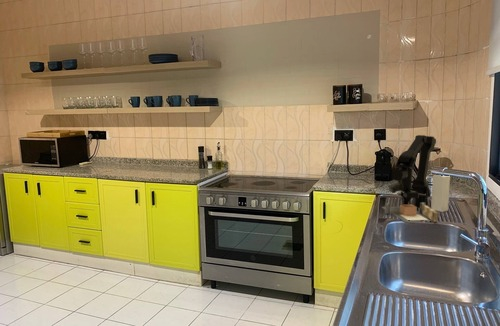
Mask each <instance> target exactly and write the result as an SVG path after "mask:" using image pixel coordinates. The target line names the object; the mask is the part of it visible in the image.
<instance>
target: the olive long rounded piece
mask: <svg viewBox="0 0 500 326" xmlns="http://www.w3.org/2000/svg"><path fill="white" fill-rule="evenodd" d="M422 205H425V202H420V207H419V212H420V214H422ZM385 207H386V210H384V211H385V213H384V214H385V215H387V216H389V215H390V214H391V213H390V207H391V203H390V202H386V203H385Z"/></svg>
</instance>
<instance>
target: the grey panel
mask: <svg viewBox="0 0 500 326" xmlns="http://www.w3.org/2000/svg"><path fill="white" fill-rule="evenodd" d="M381 208H382V210H383V209H384V211H386V206H381ZM389 214H391V215H393V216H395V217H396V218H397V219H399V220H400V219H401V220H400V221H402V222H403V223H405V224H406V223H409V224H410V223H421V222H420V220H426V221H431V222H430V223H435V222H434V221H432V220H431V219H429V218H428V217H426V216H425V215H423V214H420V210H416V216H404V215H403V214H401V213H400V206H390V213H389ZM408 220H410V221H408Z"/></svg>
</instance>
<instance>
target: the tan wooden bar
mask: <svg viewBox="0 0 500 326" xmlns="http://www.w3.org/2000/svg"><path fill="white" fill-rule="evenodd" d="M428 206H429V205H428V204H427V205H422V214H423V215H425V216H426V217H428V218H429V219H431V220H432V221H434V222H433V223H438V222H437V221H438V218H439V213H438V212H439V211H436V210H433V209H431V206H429V207H428Z"/></svg>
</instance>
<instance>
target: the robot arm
mask: <svg viewBox="0 0 500 326" xmlns="http://www.w3.org/2000/svg"><path fill="white" fill-rule="evenodd" d="M436 144H437V138H435V136H432V135H431V136H429V135H425V134H424V135H421V134H418V135H415V137H414V139H413V141H412V143H411V145H409V147H408V149H407V150H405V151H403V152H402V153H401V154H400V155H399V156H398V158H397V161H396V164H395V169H394V170H392V172H391V177H392V179H393V180H394V181H397V182H395V183H392V184H389V185H388V191H389V192H390V193H391V194H392V193H393V194H394V193H395V194H397V195H398V196H399V197H400V200H401V204H410V203H409V202H410V201H411V200H412V199H413V200H412V201H413V202H412V205H414V206H416V207H417V208H420V202H425V205H427V206H428V207H430V206H429V205H428V203H429V202H428V199H429V198H431V196H432V190H431V189H430V187H429V181H428V179H427V176H428V168H429V163H430V157H431V152H432V151H433V150H434V149H435V146H436ZM419 152H420V154H419V161H418V167H417V175H416V177H415V178H414V179H413V170H414V168H415V167H414V166H415V163H416V161H417V158H416V157H417V155H418V153H419ZM396 192H398V193H396Z"/></svg>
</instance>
